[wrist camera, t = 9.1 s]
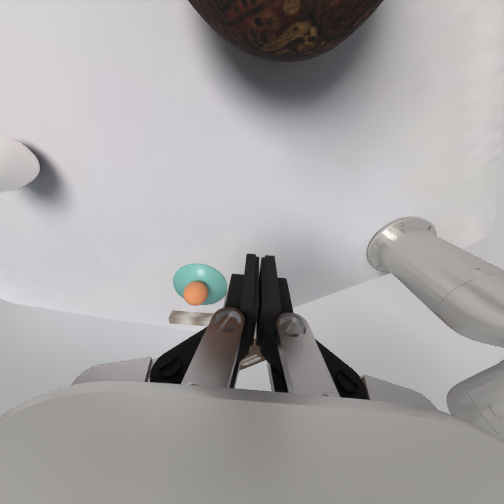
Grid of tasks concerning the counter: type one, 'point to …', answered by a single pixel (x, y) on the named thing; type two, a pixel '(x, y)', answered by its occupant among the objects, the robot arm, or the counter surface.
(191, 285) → the ball
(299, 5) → the ceramic vessel
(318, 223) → the counter surface
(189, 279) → the teal disc
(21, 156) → the sauce bottle
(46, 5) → the counter surface
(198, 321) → the strip
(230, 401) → the robot arm
